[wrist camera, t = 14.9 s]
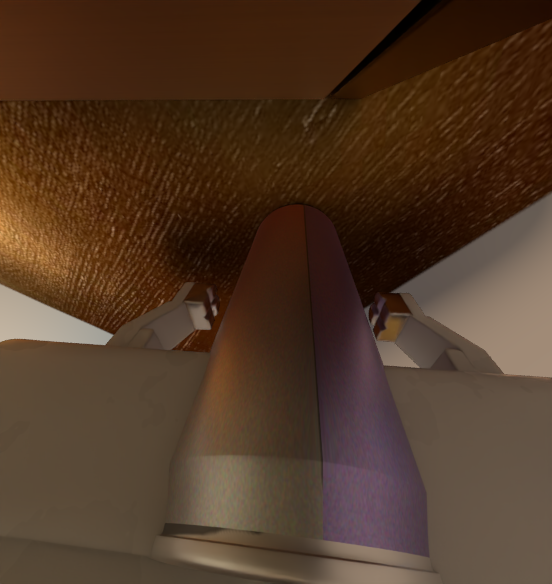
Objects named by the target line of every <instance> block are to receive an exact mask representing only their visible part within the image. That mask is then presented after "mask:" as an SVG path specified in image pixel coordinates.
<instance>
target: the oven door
mask: <svg viewBox="0 0 552 584" xmlns="http://www.w3.org/2000/svg"><path fill="white" fill-rule="evenodd" d="M549 19H552V0H421V1H420V2H419V3H418V4H417V5H416V6H415V7H414V8H413V9H412V10H411V11H410V12H409V13H408V14H407V15H406V16H405V17H404V18H403V19H402V20H401V21H400V22H399V24H398V25H397V26H396V27H395V28H394V29H393V30H392V31H391V32H390V33H389V34H388V35H387V36H386V37H385V38H384V39H383V40H382V41H381V42H380V43H379V44H378V45H377V46H376V47H375V48H374V49H373V50H372V51H371V52H370V53H369V54H368V55H367V56H366V57H365V58H364V59H363V60H362V61H361V62H360V63H359V64H358V65H357V66H356V67H355V68H354V69H353V70H352V71H351V72H350V73H349V74H348V75H347V76H346V77H345V78H344V79H343V80H342V81H341V82H340V83H339V84H338V85H337V86H336V87H335V88H334V89H333V90H332V91H331V96H330V97H331V99H362V98H364V97H366V96H369V95H371V94H374V93H376V92H378V91H381V90H383V89H385V88H388V87H390V86H393V85H395V84H397V83H400V82H402V81H404V80H407V79H409V78H412V77H414V76H416V75H419V74H421V73H423V72H426V71H428V70H431V69H433V68H435V67H438V66H440V65H442V64H445V63H447V62H450V61H452V60H454V59H457V58H459V57H461V56H464V55H466V54H469V53H471V52H473V51H476V50H478V49H480V48H483V47H485V46H488V45H490V44H492V43H495V42H497V41H499V40H502V39H504V38H507V37H509V36H511V35H514V34H516V33H518V32H521V31H523V30H526V29H528V28H530V27H533V26H535V25H537V24H540V23H542V22H545V21H547V20H549Z"/></svg>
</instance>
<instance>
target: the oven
mask: <svg viewBox="0 0 552 584" xmlns="http://www.w3.org/2000/svg"><path fill="white" fill-rule="evenodd" d="M420 1H421V0H0V101H58V100H268V99H324V98H325V97H326V96H328V95H329V94H330V92H331V91H332V90H333V89H334V88H335V87H336V86H337V85H338V84H339V83H340V82H341V81H342V80H343V79H344V78H345V77H346V76H347V75H348V74H349V73H350V72H351V71H352V70H353V69H354V68H355V67H356V66H357V65H358V64H359V63H360V62H361V61H362V60H363V59H364V58H365V57H366V56H367V55H368V54H369V53H370V52H371V51H372V50H373V49H374V48H375V47H376V46H377V45H378V44H379V43H380V42H381V41H382V40H383V39H384V38H385V37H386V36H387V35H388V34H389V33H390V32H391V31H392V30H393V29H394V28H395V27H396V26H397V25H398V24H399V22H400V21H401V20H402V19H403V18H404V17H405V16H406V15H407V14H408V13H409V12H410V11H411V10H412V9H413V8H414V7H415V6H416V5H417V4H418V3H419V2H420Z"/></svg>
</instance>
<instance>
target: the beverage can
mask: <svg viewBox="0 0 552 584" xmlns="http://www.w3.org/2000/svg"><path fill="white" fill-rule="evenodd" d="M210 353H211V355H210V358H209V361H208V365H207V368H206V371H205V374H204V376H203V379H202V381H201V384H200V386H199V389H198V392H197V394H196V397H195V399H194V402H193V405H192V407H191V410H190V412H189V415H188V417H187V420H186V423H185V425H184V428H183V430H182V433H181V436H180V438H179V441H178V443H177V446H176V449H175V451H174V454H173V456H172V459H171V461H170V466H169V484H168V499H167V511H166V520H165V525H164V529H163V532H162V534H161V535H156V537H155V540H154V543H153V547H152V555H151V557H149V558H151V559H154V560H156V561H160V562H163V563H167V564H171V565H175V566H180V567H185V568H189V569H194V570H199V571H204V572H209V573H215V574H220V575H226V576H231V577H237V578H243V579H249V580H255V581H261V582H268V583H274V584H443V583H442V579H441V576H440V574H439V573H435V572H434V571H433V569H432V566H431V562H430V556H429V544H428V522H427V493H426V490H425V487H424V484H423V481H422V478H421V475H420V472H419V470H418V467H417V464H416V461H415V458H414V455H413V452H412V450H411V447H410V444H409V441H408V438H407V435H406V432H405V430H404V427H403V424H402V421H401V418H400V415H399V412H398V410H397V407H396V404H395V401H394V398H393V395H392V392H391V390H390V387H389V384H388V381H387V377H386V374H385V371H384V367H383V366H384V365H383V363H382V360H381V357H380V354H379V352H378V348H377V346H376V343H375V340H374V337H373V334H372V332H371V329H370V326H369V323H368V320H367V317H366V315H365V312H364V309H363V306H362V303H361V300H360V297H359V295H358V292H357V289H356V286H355V283H354V280H353V277H352V275H351V272H350V269H349V266H348V263H347V260H346V258H345V255H344V252H343V249H342V246H341V243H340V241H339V238H338V235H337V232H336V229H335V227H334V225H333V223H332V222H331V220H330V219H329V218H328V217H327V216H326V215H325V214H324V213H322V212H321V211H319V210H318V209H316V208H313V207H310V206H306V205H288V206H284V207H281V208H279V209H277V210H275V211H273V212H272V213H270V214H269V215H268V216H267V217H266V218H265V219H264V220H263V222H262V223H261V225H260V226H259V228H258V231H257V233H256V236H255V238H254V241H253V243H252V246H251V249H250V251H249V254H248V256H247V259H246V261H245V264H244V266H243V269H242V272H241V274H240V277H239V279H238V282H237V284H236V287H235V289H234V292H233V295H232V297H231V300H230V302H229V305H228V307H227V310H226V312H225V315H224V318H223V320H222V323H221V325H220V328H219V330H218V333H217V335H216V338H215V341H214V343H213V346H212V348H211V351H210Z"/></svg>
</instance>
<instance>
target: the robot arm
mask: <svg viewBox="0 0 552 584" xmlns="http://www.w3.org/2000/svg"><path fill="white" fill-rule="evenodd" d="M217 291H218V290H217V286H216V285H215V284H208V283H193V282H187V283H185V284H184V285H183V286H182V288H181V289H180V291H179V292H178V293H177V295H176V296H175V298H174V299H173V300H172V302H167V303H165V304H163V305H161V306H159V307H157V308H155V309H154V310H152V311H150V312H148V313H146V314H144V315H142V316H140V317H138V318H136V319H134V320H133V321H131V322H129V323H127V324H125V325H123V326H122V327H121V328H120V329H119V330H118V331H117V332H116V333H115V334H114V336H113V337H112V338H111V339H110V340H109V341H108V342H107V344H106V345H93V344H79V343H65V342H51V341H39V340H38V341H37V340H27V339H10V340H5V341H2V342H0V584H274V583H268V582H261V581H255V580H249V579H243V578H237V577H231V576H226V575H220V574H215V573H209V572H204V571H199V570H194V569H189V568H185V567H180V566H175V565H171V564H167V563H163V562H160V561H156V560H154V559H151V558H149V557H151V555H152V547H153V543H154V540H155V537H156V535H161V534H162V532H163V529H164V525H165V520H166V511H167V499H168V484H169V466H170V461H171V459H172V456H173V454H174V451H175V449H176V446H177V443H178V441H179V438H180V436H181V433H182V430H183V428H184V425H185V423H186V420H187V417H188V415H189V412H190V410H191V407H192V405H193V402H194V399H195V397H196V394H197V392H198V389H199V386H200V384H201V381H202V379H203V376H204V374H205V371H206V368H207V365H208V361H209V358H210V355H211V353H204V352H190V351H176V350H171V349H173V348H174V347H175V346H176V345H177V344H178V343H180V342H181V341H182V340H183V339H184V338H186V337H187V336H188V335H189V334H190V333H192V332H193V331H194V330H195V329H206V330H211V328H212V326H213V323H214V321H215V319H214V316H215V315H217V314H218V311H219V308H220V299H219V296H217V295H216V293H217ZM373 299H374V302H375V303H373V304H372V305H371V306H370V309H369V320H370V323H371V324H372V325H373V326H374V329H373V332H374V334H375V337H376V339H377V341H388V342H395V344H396V345H397V346H399V347H400V349H402V350H403V351H404V352H405V353H406V354H407V355H408V356H409V357H410V358H411V359H412V360H413V361H414V362H415V363H416V364H417V365H418V366H419V367H420V368H411V367H397V366H383V367H384V371H385V374H386V377H387V381H388V384H389V387H390V390H391V392H392V395H393V398H394V401H395V404H396V407H397V410H398V412H399V415H400V418H401V421H402V424H403V427H404V430H405V432H406V435H407V438H408V441H409V444H410V447H411V450H412V452H413V455H414V458H415V461H416V464H417V467H418V470H419V472H420V475H421V478H422V481H423V484H424V487H425V490H426V493H427V522H428V544H429V556H430V562H431V566H432V569H433V571H434V572H435V573H439V574H440V576H441V579H442V583H443V584H552V378H548V377H534V376H521V375H508V374H504V373H503V372H502V371H501V370H500V368H499V367H498V366H497V365H496V363H495V362H494V361H493V360H492V359H491V357H490V356H489V355H488V354H487V353H486V351H485V350H483V349H482V348H480V347H478V346H477V345H475V344H473V343H472V342H470V341H468V340H467V339H465V338H464V337H462V336H460V335H459V334H457V333H455V332H453V331H452V330H450V329H449V328H447V327H445V326H444V325H442V324H441V323H439V322H437V321H436V320H434V319H432V318H431V317H428V316H425V315H424V313H423V312H422V310H421V309H420V307H419V306H418V304H417V303H416V301H415V300H414V298H413V297H412V295H411V294H409V293H379V292H377V293H376V294H375V295H374V298H373Z"/></svg>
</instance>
